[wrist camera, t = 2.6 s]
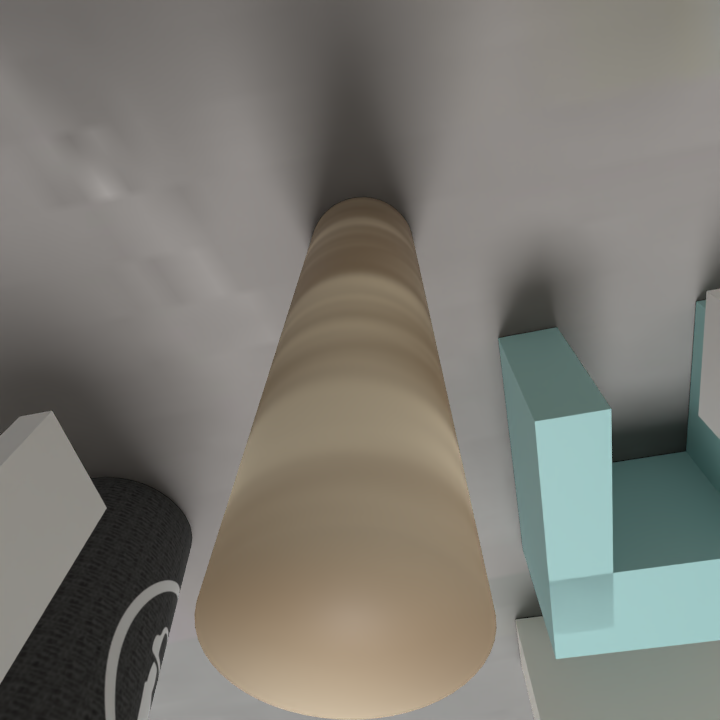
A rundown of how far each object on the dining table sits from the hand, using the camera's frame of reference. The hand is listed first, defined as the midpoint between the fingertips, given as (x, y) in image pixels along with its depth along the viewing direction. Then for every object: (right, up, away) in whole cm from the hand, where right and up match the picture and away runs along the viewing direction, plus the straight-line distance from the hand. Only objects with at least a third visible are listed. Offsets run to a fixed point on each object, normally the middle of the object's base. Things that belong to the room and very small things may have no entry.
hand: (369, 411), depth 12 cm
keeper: (+11, -2, +12) cm, 16 cm away
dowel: (0, +5, +8) cm, 10 cm away
